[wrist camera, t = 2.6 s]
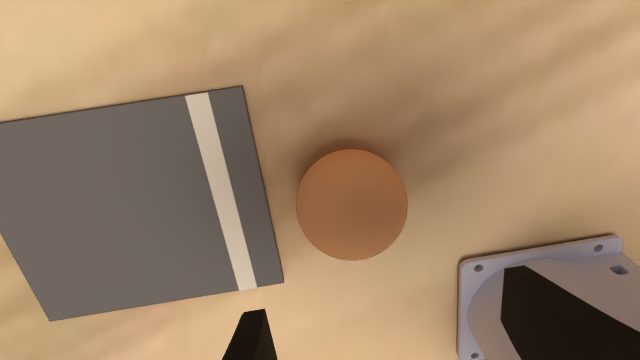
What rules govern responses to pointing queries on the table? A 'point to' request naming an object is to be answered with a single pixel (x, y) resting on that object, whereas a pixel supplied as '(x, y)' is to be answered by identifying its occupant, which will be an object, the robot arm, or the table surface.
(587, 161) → the table surface
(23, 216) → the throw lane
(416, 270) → the table surface
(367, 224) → the ball
